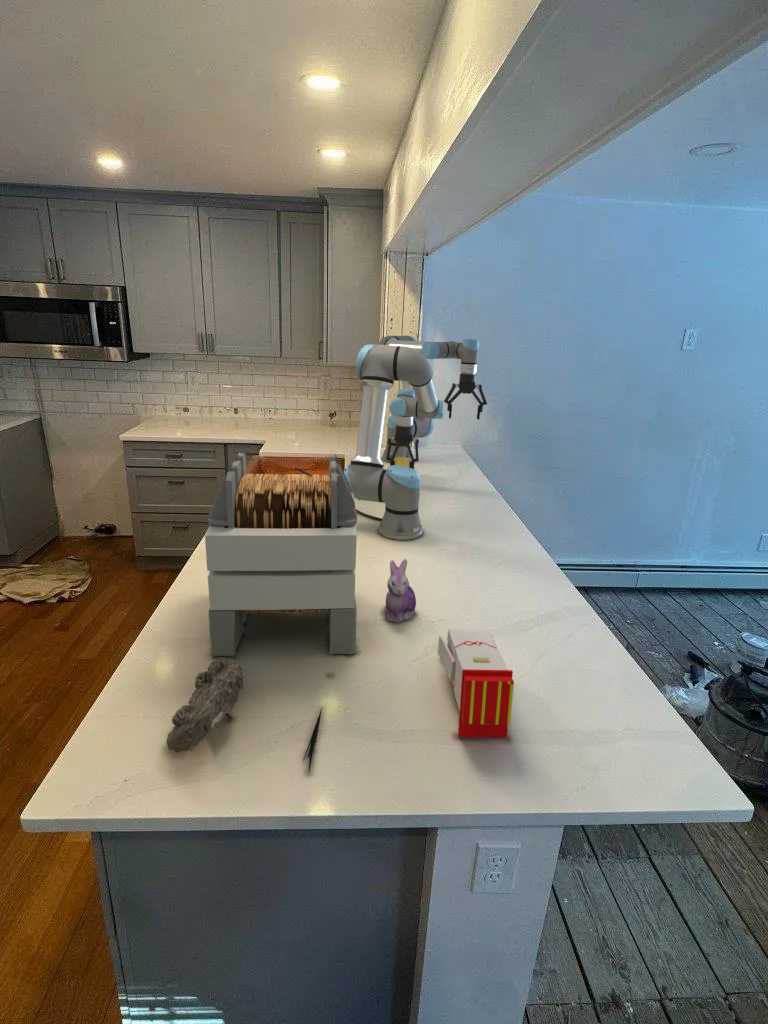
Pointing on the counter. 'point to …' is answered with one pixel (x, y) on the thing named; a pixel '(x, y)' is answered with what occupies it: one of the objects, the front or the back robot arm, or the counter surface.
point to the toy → (478, 682)
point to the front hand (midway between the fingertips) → (401, 475)
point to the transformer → (281, 552)
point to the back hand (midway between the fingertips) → (463, 418)
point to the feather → (313, 740)
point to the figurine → (399, 594)
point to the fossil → (206, 705)
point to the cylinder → (402, 461)
